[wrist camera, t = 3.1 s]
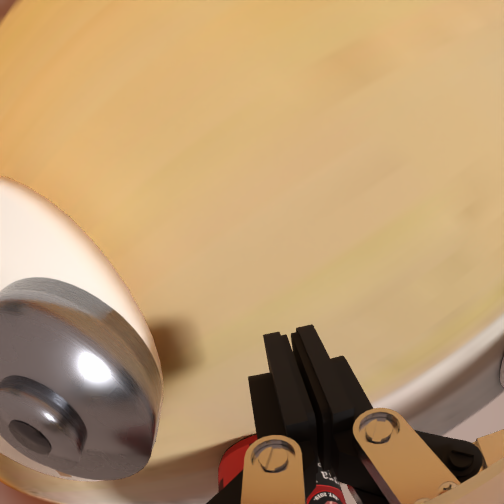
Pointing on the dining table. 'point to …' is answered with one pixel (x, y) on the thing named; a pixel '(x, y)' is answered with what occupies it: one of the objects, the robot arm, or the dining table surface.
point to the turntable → (59, 270)
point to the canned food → (320, 500)
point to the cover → (75, 381)
